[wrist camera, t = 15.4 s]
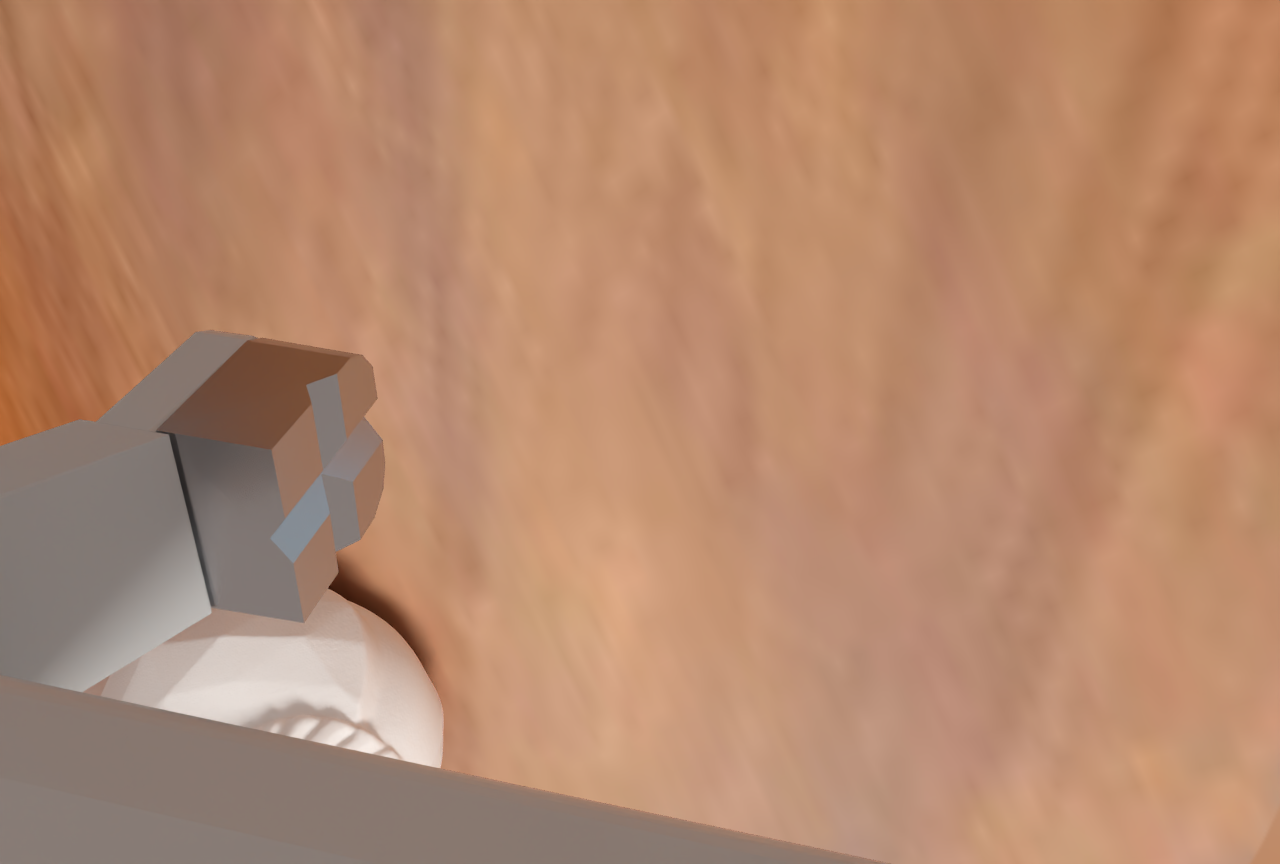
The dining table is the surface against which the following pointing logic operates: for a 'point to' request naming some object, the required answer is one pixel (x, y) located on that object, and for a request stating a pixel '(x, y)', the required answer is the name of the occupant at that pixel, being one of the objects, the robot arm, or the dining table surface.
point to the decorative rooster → (295, 680)
